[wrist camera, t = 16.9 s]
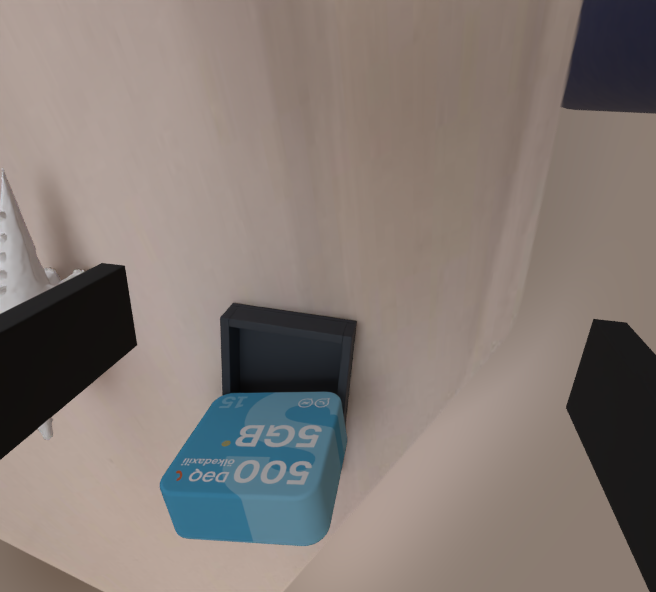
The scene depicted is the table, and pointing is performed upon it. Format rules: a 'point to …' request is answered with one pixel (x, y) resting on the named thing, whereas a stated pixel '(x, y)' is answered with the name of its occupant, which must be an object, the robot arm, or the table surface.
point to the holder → (285, 352)
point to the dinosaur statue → (21, 265)
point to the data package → (259, 469)
